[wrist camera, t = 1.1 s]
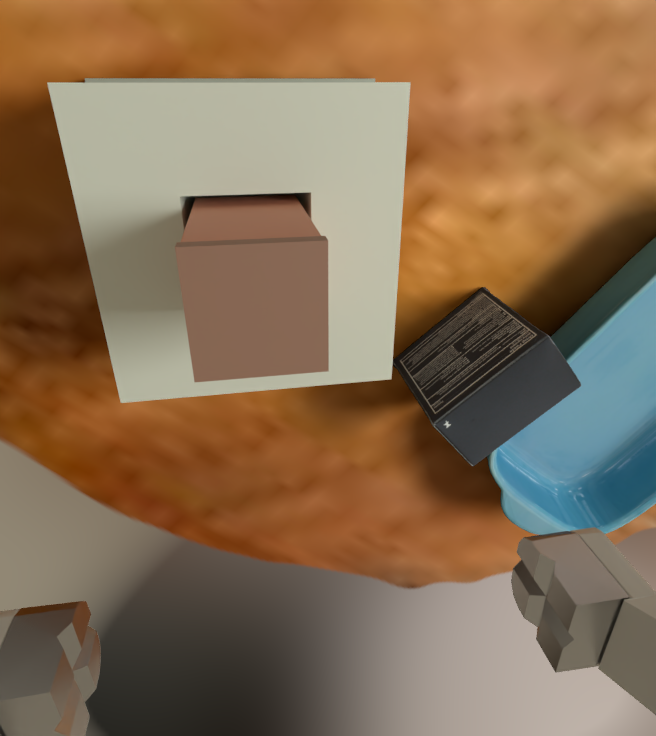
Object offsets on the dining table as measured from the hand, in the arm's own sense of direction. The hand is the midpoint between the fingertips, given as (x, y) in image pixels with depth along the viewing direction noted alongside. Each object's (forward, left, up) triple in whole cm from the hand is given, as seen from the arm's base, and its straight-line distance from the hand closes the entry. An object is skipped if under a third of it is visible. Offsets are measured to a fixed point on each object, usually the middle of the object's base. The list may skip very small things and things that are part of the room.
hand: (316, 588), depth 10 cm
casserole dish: (+15, +36, -34) cm, 51 cm away
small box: (+12, +18, -34) cm, 40 cm away
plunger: (0, 0, -26) cm, 26 cm away
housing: (0, 0, -33) cm, 33 cm away
